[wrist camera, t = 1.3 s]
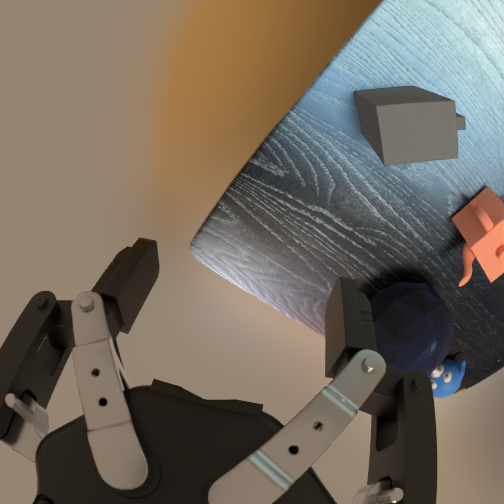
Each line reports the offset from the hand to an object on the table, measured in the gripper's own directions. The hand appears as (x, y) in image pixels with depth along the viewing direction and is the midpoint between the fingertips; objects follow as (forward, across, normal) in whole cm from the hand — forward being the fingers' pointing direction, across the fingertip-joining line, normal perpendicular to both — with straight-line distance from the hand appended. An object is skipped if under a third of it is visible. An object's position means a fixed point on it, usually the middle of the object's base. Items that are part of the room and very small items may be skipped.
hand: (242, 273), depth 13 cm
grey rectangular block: (+23, -11, -6) cm, 26 cm away
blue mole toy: (+23, -42, +37) cm, 61 cm away
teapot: (+23, -29, +4) cm, 38 cm away
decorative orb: (+23, -23, +21) cm, 38 cm away
